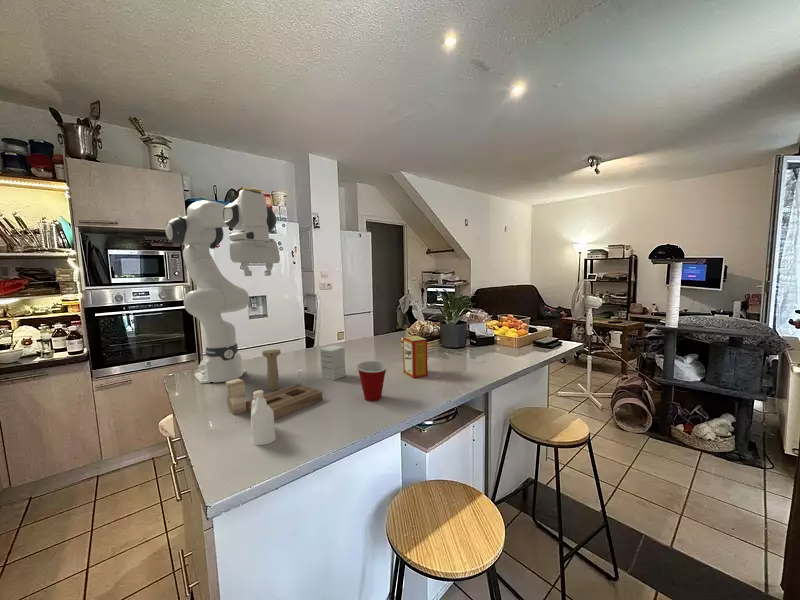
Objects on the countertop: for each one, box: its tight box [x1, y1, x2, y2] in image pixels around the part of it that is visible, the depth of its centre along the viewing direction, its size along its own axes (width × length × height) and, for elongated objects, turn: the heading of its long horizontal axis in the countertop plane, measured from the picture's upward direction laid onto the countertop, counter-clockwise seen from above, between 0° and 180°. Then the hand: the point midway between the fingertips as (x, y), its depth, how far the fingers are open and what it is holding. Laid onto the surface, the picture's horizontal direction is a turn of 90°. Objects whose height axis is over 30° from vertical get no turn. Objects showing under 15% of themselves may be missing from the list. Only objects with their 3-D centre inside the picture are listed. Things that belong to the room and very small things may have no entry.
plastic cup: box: [356, 360, 389, 402], centre depth 114 cm, size 11×11×12 cm
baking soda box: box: [402, 335, 429, 379], centre depth 139 cm, size 10×6×16 cm
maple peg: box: [225, 378, 247, 416], centre depth 107 cm, size 4×4×10 cm
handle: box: [262, 349, 281, 391], centre depth 125 cm, size 5×6×15 cm
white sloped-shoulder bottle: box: [250, 398, 276, 446], centre depth 87 cm, size 6×12×6 cm
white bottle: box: [250, 389, 266, 432], centre depth 94 cm, size 5×5×11 cm
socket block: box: [246, 383, 323, 420], centre depth 111 cm, size 14×20×3 cm
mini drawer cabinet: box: [319, 345, 347, 381], centre depth 139 cm, size 7×7×13 cm
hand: (258, 275), depth 117 cm, fingers open, 8 cm apart
